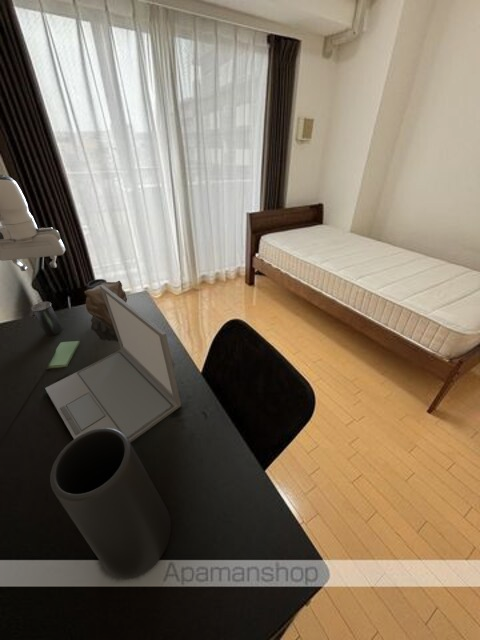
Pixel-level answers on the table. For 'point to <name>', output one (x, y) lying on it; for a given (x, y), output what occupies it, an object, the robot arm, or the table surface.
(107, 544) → the vase
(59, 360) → the rag
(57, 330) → the can
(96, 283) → the coffee cup
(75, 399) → the laptop
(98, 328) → the owl
